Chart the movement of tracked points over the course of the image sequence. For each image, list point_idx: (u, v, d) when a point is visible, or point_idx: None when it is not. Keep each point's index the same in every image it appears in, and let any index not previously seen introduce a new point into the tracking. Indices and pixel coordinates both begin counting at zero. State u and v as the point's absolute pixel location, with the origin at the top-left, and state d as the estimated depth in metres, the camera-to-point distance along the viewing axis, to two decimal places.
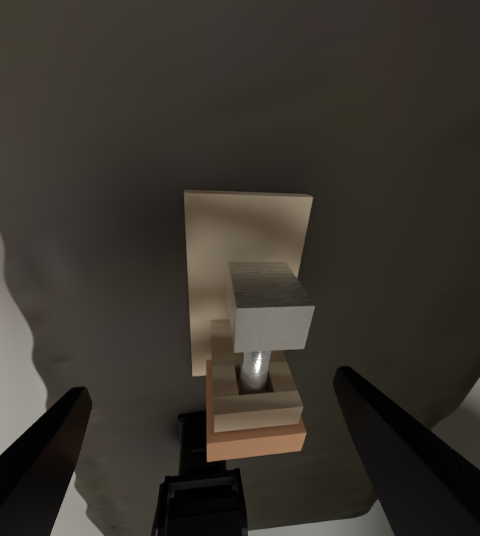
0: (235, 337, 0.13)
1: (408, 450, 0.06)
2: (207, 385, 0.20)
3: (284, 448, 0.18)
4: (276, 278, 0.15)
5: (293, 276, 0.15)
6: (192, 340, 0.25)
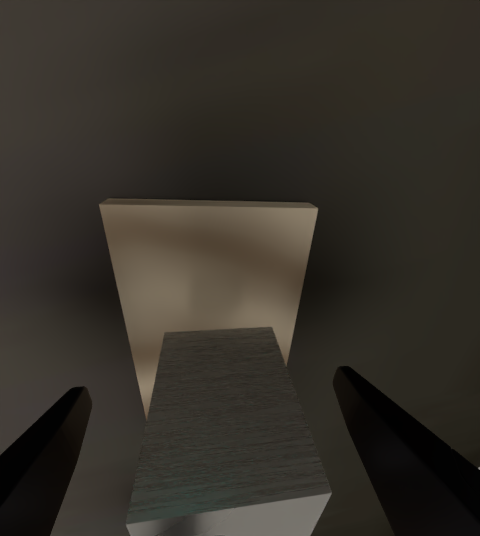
0: None
1: (408, 450, 0.06)
2: None
3: None
4: (249, 379, 0.07)
5: (283, 371, 0.08)
6: (146, 410, 0.17)
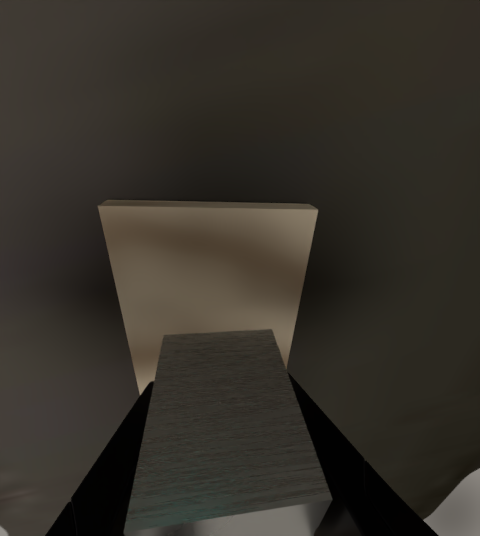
0: None
1: (320, 462, 0.06)
2: None
3: None
4: (249, 383, 0.07)
5: (283, 375, 0.07)
6: None
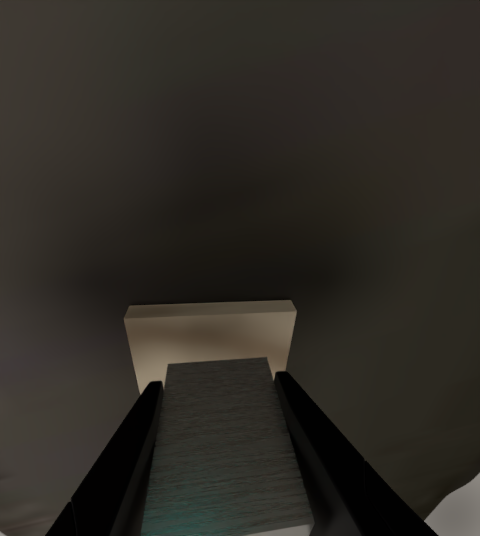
0: None
1: (320, 462, 0.06)
2: None
3: None
4: (245, 412, 0.08)
5: (276, 404, 0.08)
6: None
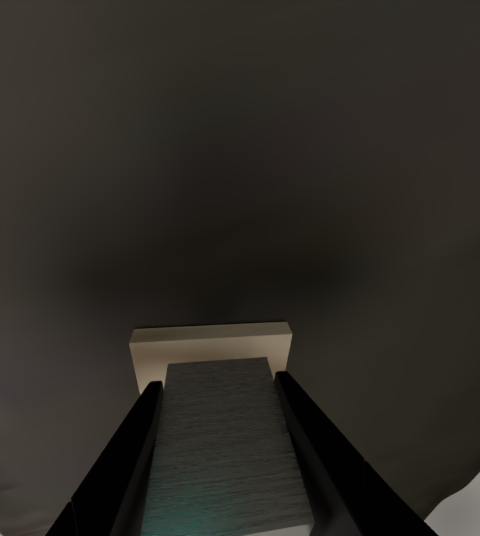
0: None
1: (320, 462, 0.06)
2: None
3: None
4: (245, 412, 0.08)
5: (276, 404, 0.08)
6: None
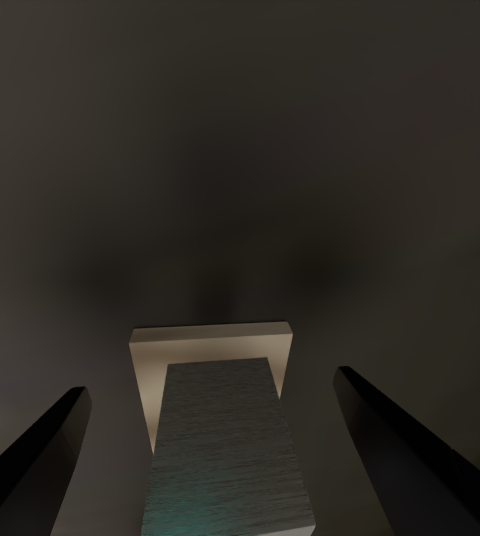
0: None
1: (408, 450, 0.06)
2: None
3: None
4: (245, 412, 0.08)
5: (276, 404, 0.08)
6: None
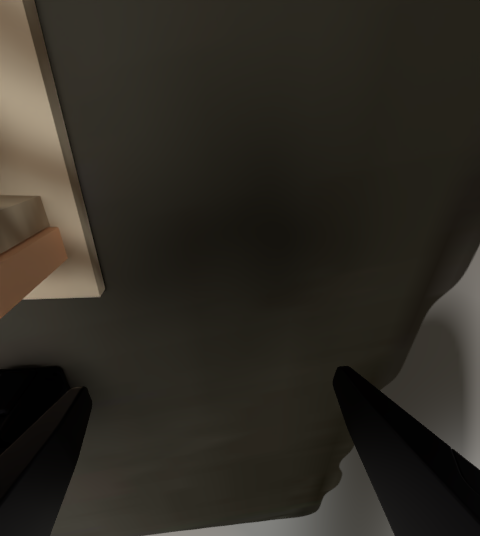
0: None
1: (408, 450, 0.06)
2: None
3: None
4: None
5: None
6: None
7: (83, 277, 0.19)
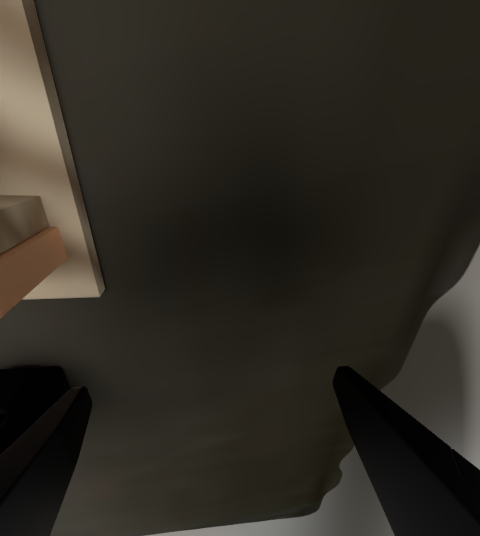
0: None
1: (408, 450, 0.06)
2: None
3: None
4: None
5: None
6: None
7: (83, 277, 0.19)
